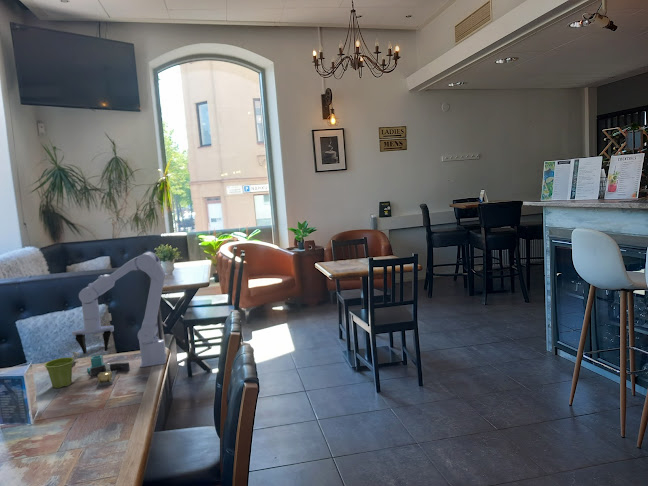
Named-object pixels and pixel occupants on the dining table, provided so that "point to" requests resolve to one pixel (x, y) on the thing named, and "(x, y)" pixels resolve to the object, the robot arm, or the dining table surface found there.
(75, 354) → the soldier figure
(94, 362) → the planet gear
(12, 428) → the dining table surface
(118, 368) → the carrier
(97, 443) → the dining table surface
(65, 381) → the plant pot
